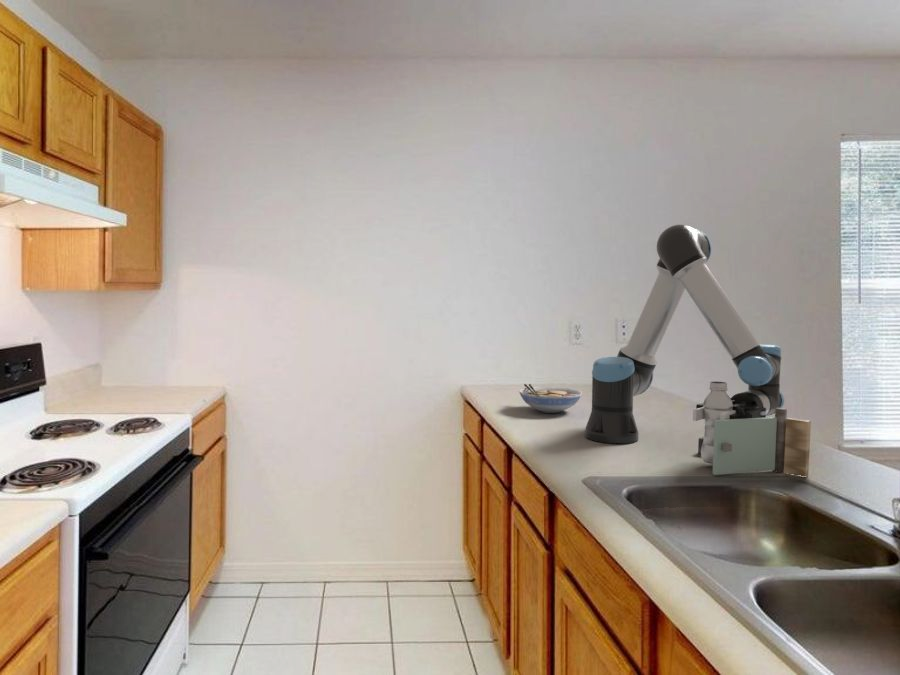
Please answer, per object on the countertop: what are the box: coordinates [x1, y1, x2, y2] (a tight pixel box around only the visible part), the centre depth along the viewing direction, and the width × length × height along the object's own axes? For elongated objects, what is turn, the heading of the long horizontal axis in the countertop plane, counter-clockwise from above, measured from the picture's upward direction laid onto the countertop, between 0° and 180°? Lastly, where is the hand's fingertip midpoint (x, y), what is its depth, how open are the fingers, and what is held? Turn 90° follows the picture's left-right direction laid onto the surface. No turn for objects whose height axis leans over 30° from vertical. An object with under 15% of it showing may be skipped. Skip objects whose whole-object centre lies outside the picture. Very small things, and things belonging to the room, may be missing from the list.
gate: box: [712, 416, 777, 476], centre depth 133 cm, size 16×3×12 cm, turn 104°
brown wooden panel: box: [697, 407, 812, 477], centre depth 142 cm, size 26×5×15 cm, turn 41°
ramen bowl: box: [518, 383, 583, 414], centre depth 208 cm, size 25×23×8 cm
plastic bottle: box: [700, 380, 733, 465], centre depth 139 cm, size 6×7×20 cm
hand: (707, 417), depth 135 cm, fingers closed on plastic bottle, 6 cm apart
